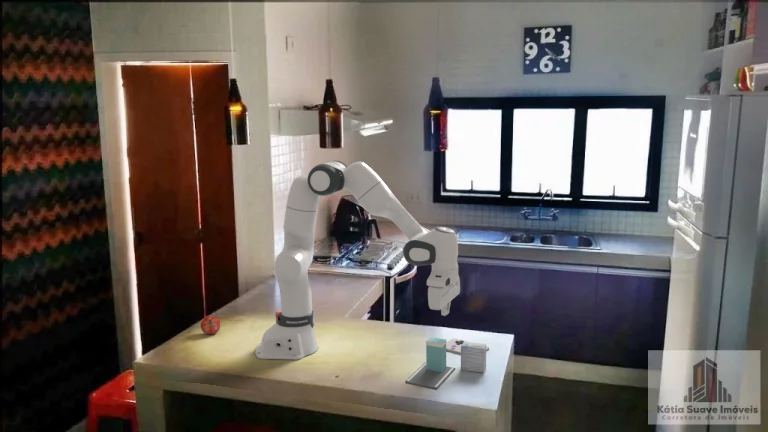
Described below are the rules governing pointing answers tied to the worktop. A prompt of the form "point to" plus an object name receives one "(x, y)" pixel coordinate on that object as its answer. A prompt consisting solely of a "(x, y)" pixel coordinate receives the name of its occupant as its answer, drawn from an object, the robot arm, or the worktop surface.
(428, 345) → the tea box
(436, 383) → the mat
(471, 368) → the medicine box
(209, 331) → the orange pumpkin
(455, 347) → the handheld gaming console
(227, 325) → the worktop surface
